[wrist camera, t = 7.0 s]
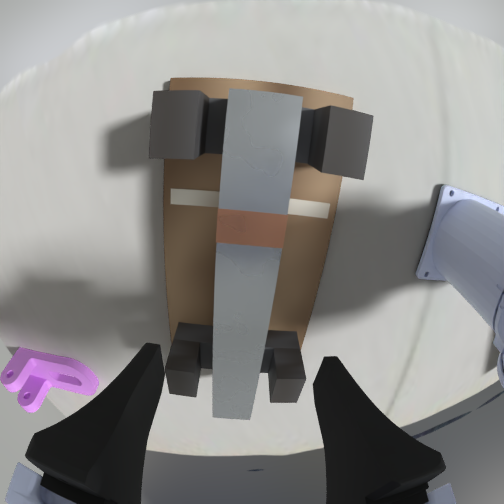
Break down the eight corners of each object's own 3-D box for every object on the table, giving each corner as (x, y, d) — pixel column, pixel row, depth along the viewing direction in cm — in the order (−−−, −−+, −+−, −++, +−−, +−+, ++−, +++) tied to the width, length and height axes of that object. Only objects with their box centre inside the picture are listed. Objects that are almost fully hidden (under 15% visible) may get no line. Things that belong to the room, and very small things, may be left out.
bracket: (38, 374, 27) (19, 408, 21) (20, 346, 25) (-4, 380, 18) (106, 390, 27) (88, 434, 21) (87, 359, 25) (63, 406, 18)
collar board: (350, 98, 14) (391, 90, 9) (294, 362, 24) (302, 411, 19) (173, 79, 14) (140, 60, 9) (174, 353, 23) (162, 402, 18)
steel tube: (292, 103, 12) (303, 96, 10) (250, 391, 22) (250, 419, 19) (232, 96, 12) (228, 88, 10) (215, 389, 22) (212, 417, 19)
